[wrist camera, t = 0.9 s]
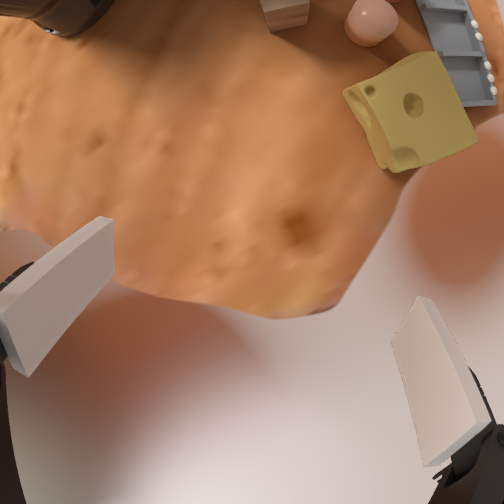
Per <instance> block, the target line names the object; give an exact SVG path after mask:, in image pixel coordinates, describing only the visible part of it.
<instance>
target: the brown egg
mask: <svg viewBox="0 0 504 504" xmlns="http://www.w3.org/2000/svg"><path fill="white" fill-rule="evenodd" d="M398 22H399V21H398V15H397V13H396V11H395V9H394V8H393V7H392V6H391V5H390V4H389V3H388V2H387V1H385V0H357V1H356V2H355V4H354V5H353V7H352V9H351V11H350V12H349V14H348V16H347V18H346V19H345V22H344V30H345V33H346V35H347V36H348V37H349V39H350V40H351V41H353V42H354V43H356V44H358V45H360V46H364V47H372V46H375V45H377V44H379V43H380V42H381V41H382V40H384V39H385V38H386V37H388V36H389V35H390V34H392V33H393V32H394V31H395V30H396V29H397V27H398Z"/></svg>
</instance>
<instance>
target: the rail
mask: <svg viewBox="0 0 504 504" xmlns="http://www.w3.org/2000/svg"><path fill="white" fill-rule="evenodd" d="M415 2H416V4H417V7H418V9H419V11H420V14H421V17H422V19H423V22H424V24H425V27H426V30H427V33H428V36H429V38H430V41H431V44H432V47H433V51H434V52H437V53H438V55H439V57H440V59H441V61H442V63H443V65H444V67H445V69H446V71H447V73H448V75H449V77H450V79H451V81H452V83H453V85H454V87H455V89H456V91H457V94H458V96H459V98H460V100H461V103H462V105H463V107H472V106H490V105H498V103H497V98H496V94H497V89H496V87H494V84H493V82H494V76H493V75H492V74H491V71H490V70H491V64H490V63H489V62H488V60H487V56H486V53H485V49H484V46H483V43H482V40H483V37H482V35H481V34H480V33H479V31H478V27H479V25H478V23H477V22H476V21H475V20H474V17H473V15H472V12H471V10H470V7H469V5H468V2H467V0H415Z"/></svg>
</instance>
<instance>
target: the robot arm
mask: <svg viewBox="0 0 504 504" xmlns="http://www.w3.org/2000/svg"><path fill="white" fill-rule="evenodd" d="M113 1H114V0H0V16H8V17H17V18H25V19H30V20H31V21H33V22H34V23H35V24H37V25H38V26H39V27H41V28H42V29H43V30H44V31H46V32H47V33H49V34H52V35H58V36H72V35H75V34H78V33H80V32H82V31H84V30H86V29H87V28H89V27H90V26H91V25H93V24H94V23H95V22H96V21H97V20H98V19H99V18H100V17H101V16H102V15H103V14H104V13H105V12H106V11H107V10H108V8H109V7H110V5H111V4H112V3H113ZM113 276H114V219H110V218H106V217H102V216H98V217H97V218H95V219H94V220H92V221H91V222H89V223H88V224H86V225H85V226H83V227H82V228H81V229H79V230H78V231H76V232H75V233H74V234H72V235H71V236H69V237H68V238H67V239H65V240H64V241H63V242H61V243H60V244H59V245H57V246H56V247H55V248H53V249H52V250H51V251H49V252H48V253H47V254H46V255H44V256H43V257H41V258H40V259H39V260H38V261H36V262H31V263H29V264H26V265H24V266H22V267H20V268H19V269H18V270H17V271H15V272H14V273H13V274H12V276H9V277H8V278H7V279H6V280H5V282H2V283H1V284H0V504H26V501H25V498H24V494H23V490H22V487H21V483H20V479H19V475H18V470H17V466H16V461H15V456H14V451H13V445H12V440H11V432H10V425H9V417H8V406H7V394H6V373H5V366H4V363H3V361H4V360H5V359H6V358H7V357H8V358H9V360H10V362H11V364H12V366H13V368H14V369H16V370H17V371H19V372H20V373H22V374H23V375H25V376H27V377H30V375H31V374H32V373H33V372H34V370H35V369H36V367H37V366H38V365H39V364H40V362H41V361H42V360H43V358H44V357H45V356H46V354H47V353H48V352H49V351H50V349H51V348H52V347H53V346H54V344H55V343H56V342H57V341H58V339H59V338H60V337H61V336H62V335H63V333H64V332H65V331H66V330H67V328H68V327H69V326H70V325H71V324H72V322H73V321H74V320H75V319H76V318H77V317H78V315H79V314H80V313H81V312H82V311H83V310H84V308H85V307H86V306H87V305H88V304H89V303H90V301H91V300H92V299H93V298H94V297H95V296H96V294H98V292H99V291H100V290H101V289H102V288H103V287H104V286H105V285H106V283H107V282H108V281H109V280H110V279H111V278H112V277H113ZM391 345H392V348H393V351H394V354H395V357H396V361H397V364H398V367H399V371H400V374H401V377H402V381H403V384H404V387H405V391H406V395H407V398H408V402H409V406H410V410H411V414H412V417H413V422H414V426H415V430H416V434H417V439H418V443H419V448H420V452H421V458H422V462H423V467H427V466H436V465H440V464H441V463H443V462H444V461H445V460H446V459H448V458H449V457H451V461H452V463H451V464H450V465H448V466H447V467H445V468H444V469H443V470H441V471H440V472H438V473H437V474H436V475H435V476H434V477H433V478H432V479H434V480H435V479H436V478H438V477H439V476H440V475H443V476H442V478H441V479H440V480H438V481H437V482H438V483H439V484H438V486H437V488H436V490H435V492H434V494H433V496H432V497H431V499H430V501H429V503H428V504H504V425H503V424H498V425H497V424H496V422H495V419H494V416H493V414H492V411H491V409H490V406H489V404H488V402H487V399H486V397H485V396H484V392H483V390H482V388H480V383H479V381H478V379H477V377H476V375H475V374H474V373H473V371H472V370H471V369H470V368H469V367H468V366H467V363H466V361H465V359H464V357H463V355H462V353H461V351H460V349H459V347H458V345H457V344H456V342H455V340H454V338H453V336H452V334H451V333H450V331H449V329H448V327H447V325H446V323H445V321H444V320H443V318H442V316H441V314H440V312H439V311H438V309H437V307H436V306H435V304H434V302H433V300H432V299H431V298H428V297H424V296H420V295H418V296H417V298H416V300H415V301H414V303H413V305H412V307H411V309H410V311H409V312H408V314H407V316H406V318H405V319H404V321H403V323H402V324H401V326H400V328H399V329H398V331H397V333H396V334H395V336H394V338H393V339H392V341H391Z"/></svg>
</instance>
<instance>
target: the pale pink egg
mask: <svg viewBox="0 0 504 504" xmlns="http://www.w3.org/2000/svg"><path fill="white" fill-rule="evenodd" d="M385 1H387V2H389V3H398V2H400V1H402V0H385Z"/></svg>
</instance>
